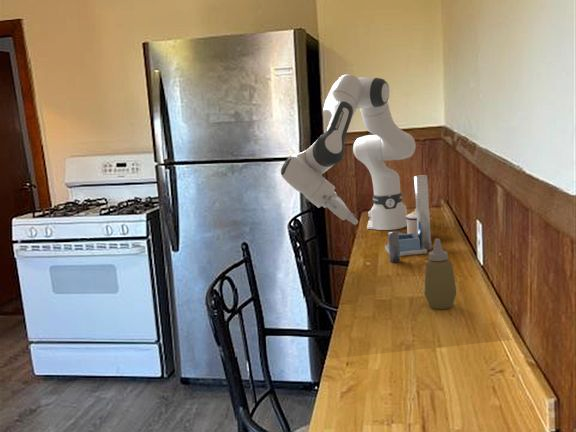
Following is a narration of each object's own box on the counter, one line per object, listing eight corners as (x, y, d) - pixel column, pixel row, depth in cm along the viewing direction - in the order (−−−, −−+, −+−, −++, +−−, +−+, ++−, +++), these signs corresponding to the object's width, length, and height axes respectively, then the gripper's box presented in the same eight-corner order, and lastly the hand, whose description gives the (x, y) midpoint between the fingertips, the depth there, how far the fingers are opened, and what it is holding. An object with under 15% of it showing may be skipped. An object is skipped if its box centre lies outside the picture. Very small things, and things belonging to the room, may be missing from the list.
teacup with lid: (432, 240, 222) (430, 210, 219) (407, 242, 224) (405, 211, 221) (431, 233, 233) (429, 204, 231) (407, 234, 235) (405, 205, 233)
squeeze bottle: (426, 312, 151) (422, 243, 148) (424, 301, 159) (419, 236, 156) (459, 310, 150) (455, 241, 147) (455, 300, 158) (451, 234, 155)
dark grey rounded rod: (389, 260, 202) (387, 231, 200) (399, 259, 202) (397, 230, 200) (391, 263, 198) (388, 233, 196) (401, 262, 198) (399, 232, 196)
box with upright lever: (381, 244, 224) (376, 175, 219) (422, 240, 224) (418, 171, 219) (391, 256, 206) (385, 182, 201) (435, 252, 206) (431, 177, 201)
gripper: (331, 191, 185) (365, 219, 186) (326, 182, 205) (357, 207, 207) (318, 207, 185) (352, 234, 187) (314, 196, 206) (345, 221, 207)
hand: (354, 220), depth 197 cm, fingers open, 8 cm apart
